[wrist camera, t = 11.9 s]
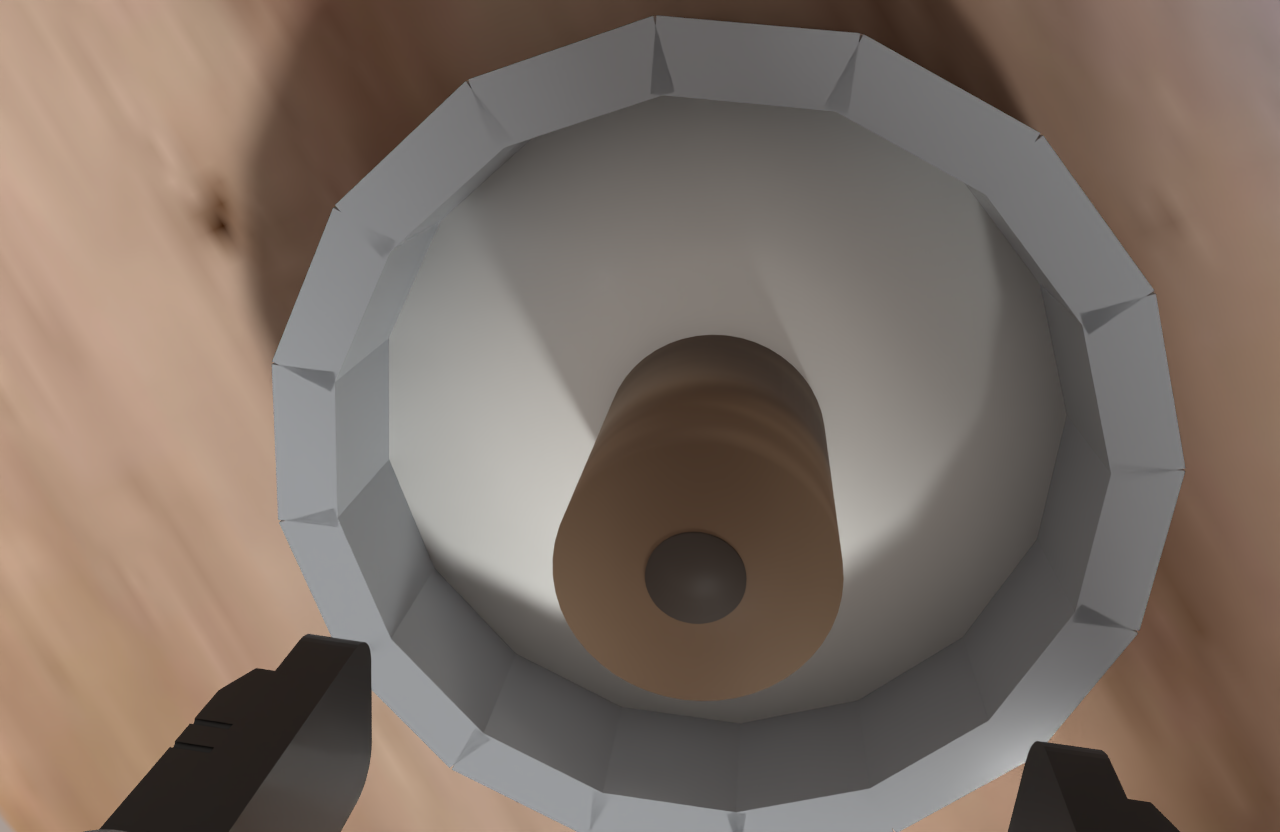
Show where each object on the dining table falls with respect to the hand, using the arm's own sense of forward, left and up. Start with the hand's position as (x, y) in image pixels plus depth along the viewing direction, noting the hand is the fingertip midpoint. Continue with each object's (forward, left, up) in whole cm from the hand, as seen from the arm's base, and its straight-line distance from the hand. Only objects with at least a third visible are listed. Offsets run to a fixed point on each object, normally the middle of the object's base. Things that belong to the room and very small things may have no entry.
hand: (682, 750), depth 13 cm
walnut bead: (0, 0, -10) cm, 10 cm away
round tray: (0, 0, -11) cm, 11 cm away
